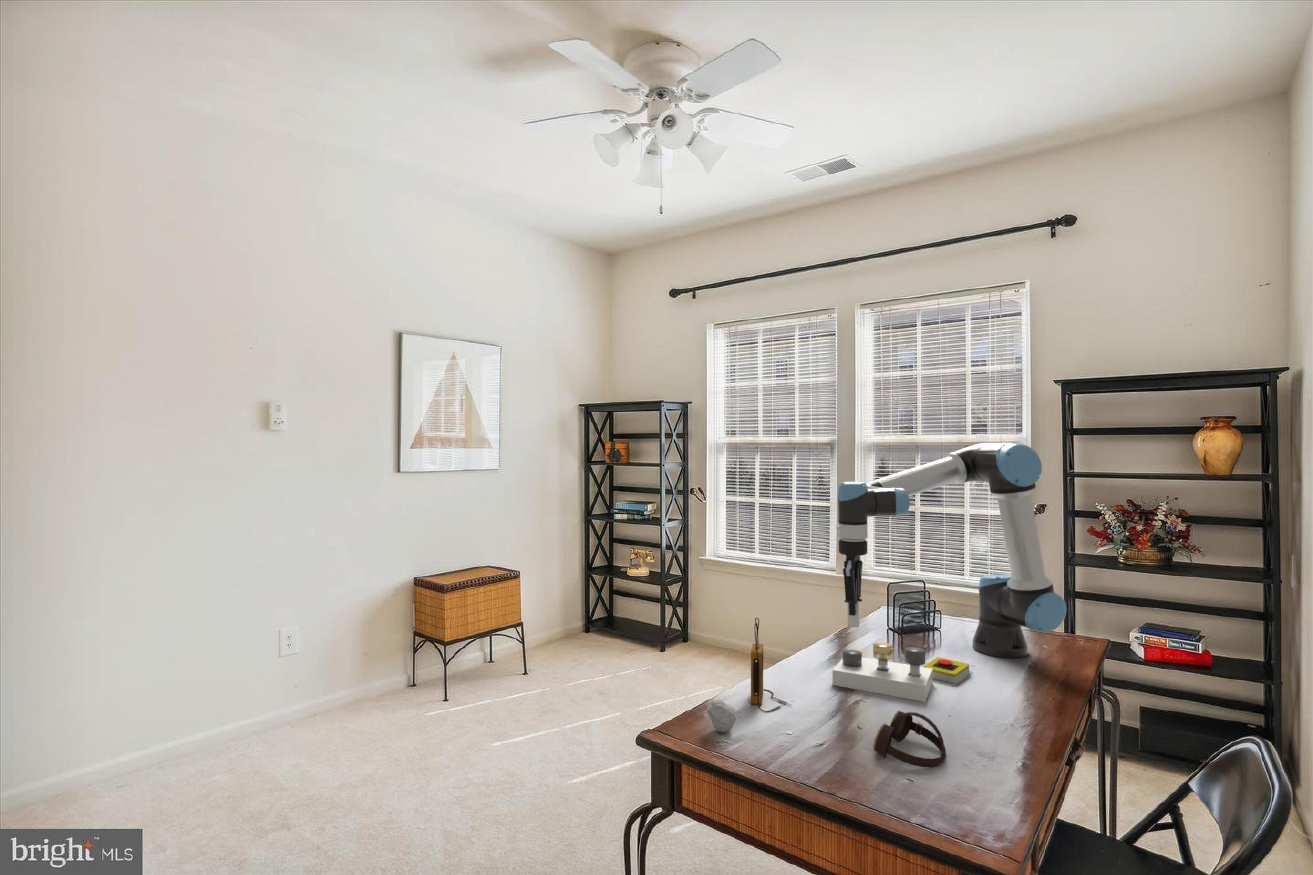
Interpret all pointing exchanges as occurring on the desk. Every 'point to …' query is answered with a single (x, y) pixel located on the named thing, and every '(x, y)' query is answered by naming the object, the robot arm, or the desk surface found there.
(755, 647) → the multimeter
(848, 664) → the knob far
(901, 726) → the goggles
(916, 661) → the knob near
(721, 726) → the crumpled paper ball
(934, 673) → the emergency button
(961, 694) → the desk surface
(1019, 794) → the desk surface
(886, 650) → the knob middle
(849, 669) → the mount plate
